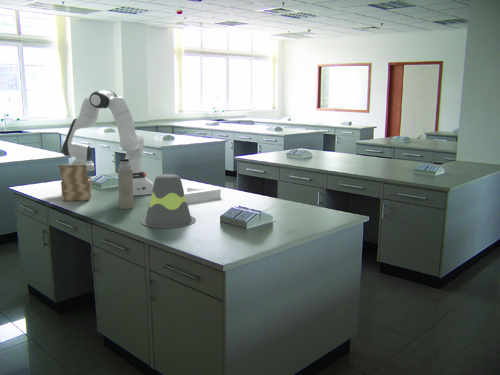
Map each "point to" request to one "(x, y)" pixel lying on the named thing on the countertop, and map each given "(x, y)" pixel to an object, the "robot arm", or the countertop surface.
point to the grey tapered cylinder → (168, 204)
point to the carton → (76, 190)
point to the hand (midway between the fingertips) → (76, 169)
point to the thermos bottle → (125, 185)
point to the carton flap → (73, 173)
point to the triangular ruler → (200, 194)
